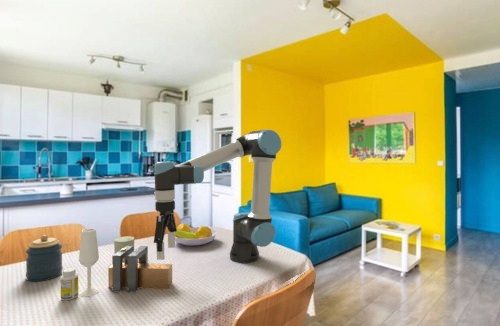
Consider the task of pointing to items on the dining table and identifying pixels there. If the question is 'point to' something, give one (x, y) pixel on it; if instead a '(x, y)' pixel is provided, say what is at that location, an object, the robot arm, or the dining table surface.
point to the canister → (44, 259)
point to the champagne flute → (88, 257)
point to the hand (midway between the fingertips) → (166, 253)
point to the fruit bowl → (194, 235)
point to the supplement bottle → (69, 284)
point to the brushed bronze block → (147, 276)
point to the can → (123, 243)
